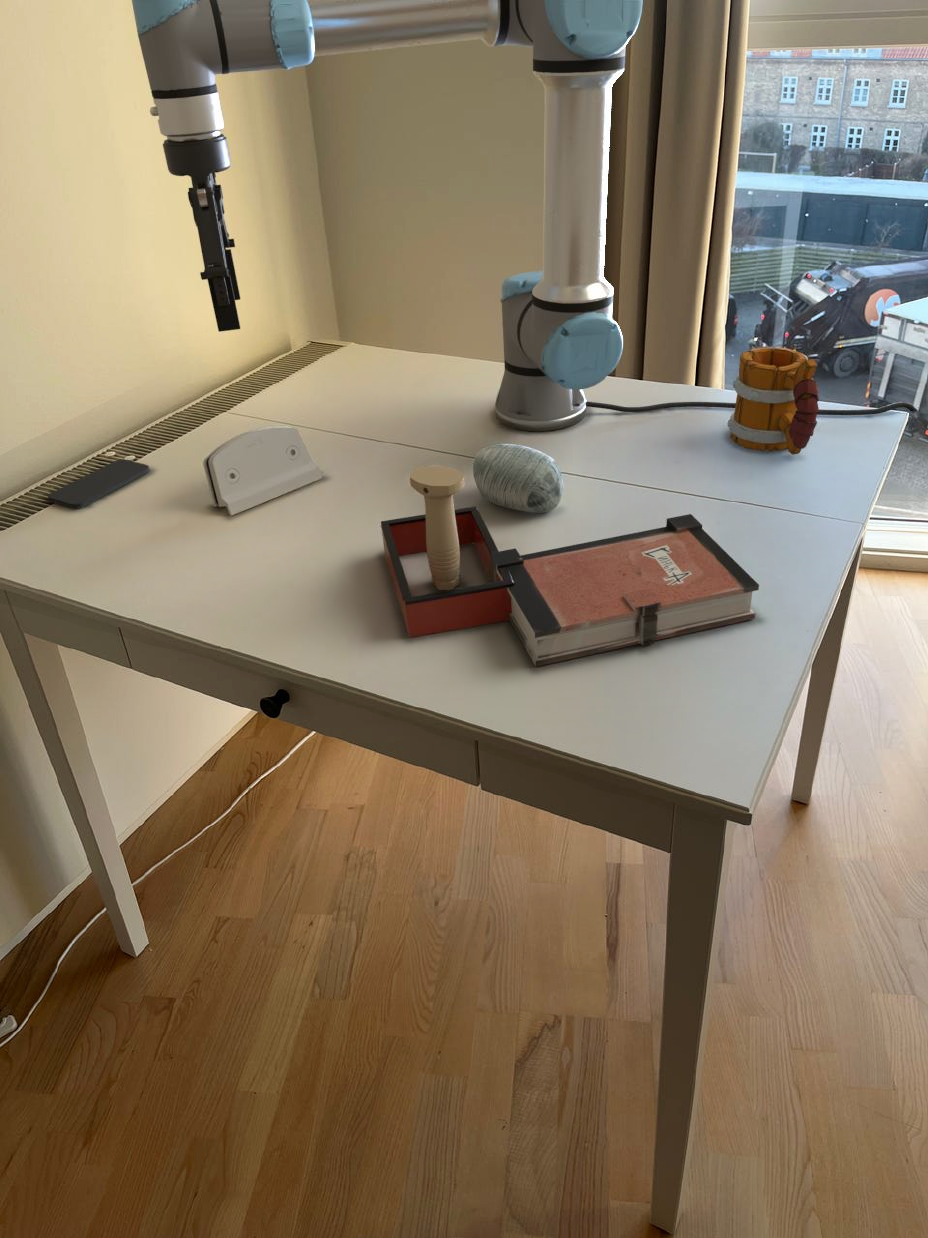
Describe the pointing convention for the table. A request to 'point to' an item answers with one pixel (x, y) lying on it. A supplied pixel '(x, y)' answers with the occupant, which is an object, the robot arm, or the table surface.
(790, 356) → the mug
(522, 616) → the book
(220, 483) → the white piece
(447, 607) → the red black rectangular frame
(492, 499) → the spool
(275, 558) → the table surface
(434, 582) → the handle
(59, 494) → the phone
